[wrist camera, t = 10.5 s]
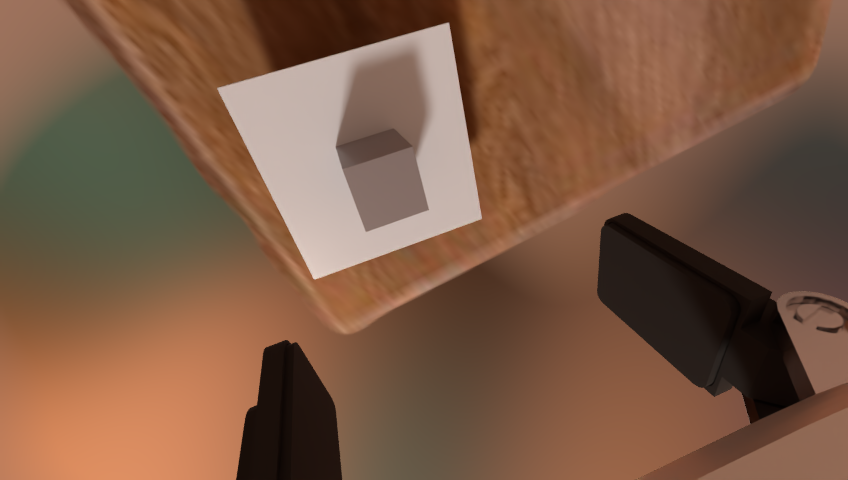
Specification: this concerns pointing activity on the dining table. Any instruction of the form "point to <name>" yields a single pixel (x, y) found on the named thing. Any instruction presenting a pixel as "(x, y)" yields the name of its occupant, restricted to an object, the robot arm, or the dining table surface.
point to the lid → (362, 147)
